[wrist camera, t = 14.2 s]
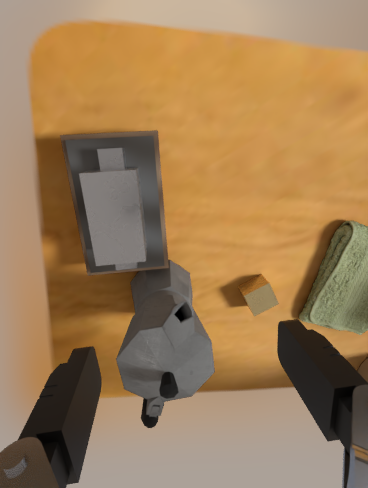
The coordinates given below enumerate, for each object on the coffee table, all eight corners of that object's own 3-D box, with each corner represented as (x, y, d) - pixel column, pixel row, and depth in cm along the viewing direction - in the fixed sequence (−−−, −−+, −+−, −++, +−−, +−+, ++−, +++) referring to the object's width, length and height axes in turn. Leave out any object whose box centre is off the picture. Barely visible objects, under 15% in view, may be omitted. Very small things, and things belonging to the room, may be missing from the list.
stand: (167, 256, 37) (168, 269, 33) (94, 262, 36) (86, 277, 32) (157, 133, 31) (157, 130, 27) (71, 137, 30) (58, 135, 26)
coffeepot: (139, 239, 35) (127, 317, 19) (205, 253, 37) (248, 336, 20) (118, 332, 40) (93, 463, 23) (177, 340, 42) (194, 468, 25)
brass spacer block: (270, 293, 41) (278, 303, 38) (247, 305, 41) (254, 316, 38) (260, 273, 40) (269, 282, 37) (237, 285, 40) (243, 295, 37)
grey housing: (136, 147, 28) (133, 146, 23) (148, 260, 32) (148, 278, 27) (88, 150, 27) (74, 149, 22) (107, 264, 31) (99, 283, 27)
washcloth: (292, 317, 43) (303, 329, 40) (336, 216, 38) (352, 221, 35) (358, 328, 46) (373, 340, 43) (408, 234, 40) (429, 240, 37)
